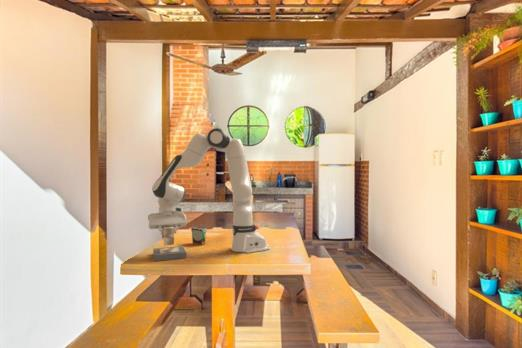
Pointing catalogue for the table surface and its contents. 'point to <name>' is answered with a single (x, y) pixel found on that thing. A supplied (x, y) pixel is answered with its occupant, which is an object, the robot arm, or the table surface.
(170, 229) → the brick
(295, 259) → the table surface
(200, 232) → the food container
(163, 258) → the base block
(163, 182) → the robot arm
